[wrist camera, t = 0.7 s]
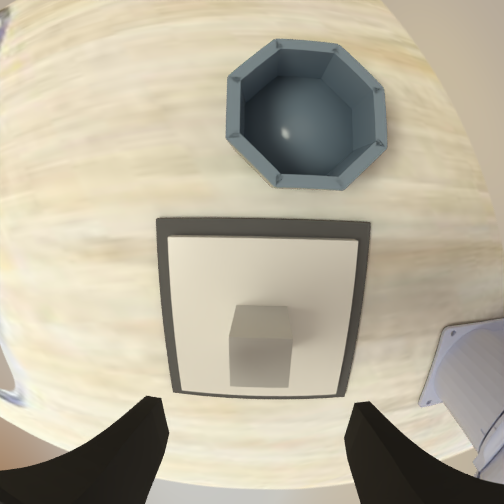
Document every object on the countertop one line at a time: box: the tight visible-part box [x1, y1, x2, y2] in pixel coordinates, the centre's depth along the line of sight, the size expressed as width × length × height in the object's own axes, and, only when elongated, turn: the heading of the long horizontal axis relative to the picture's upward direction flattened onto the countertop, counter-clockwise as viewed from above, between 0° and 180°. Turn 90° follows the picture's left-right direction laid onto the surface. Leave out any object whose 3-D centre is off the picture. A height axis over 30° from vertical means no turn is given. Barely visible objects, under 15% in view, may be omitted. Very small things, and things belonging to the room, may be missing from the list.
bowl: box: [226, 39, 387, 191], centre depth 14 cm, size 7×7×4 cm
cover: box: [168, 235, 358, 396], centre depth 16 cm, size 11×11×5 cm
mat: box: [156, 218, 370, 399], centre depth 18 cm, size 13×13×1 cm
